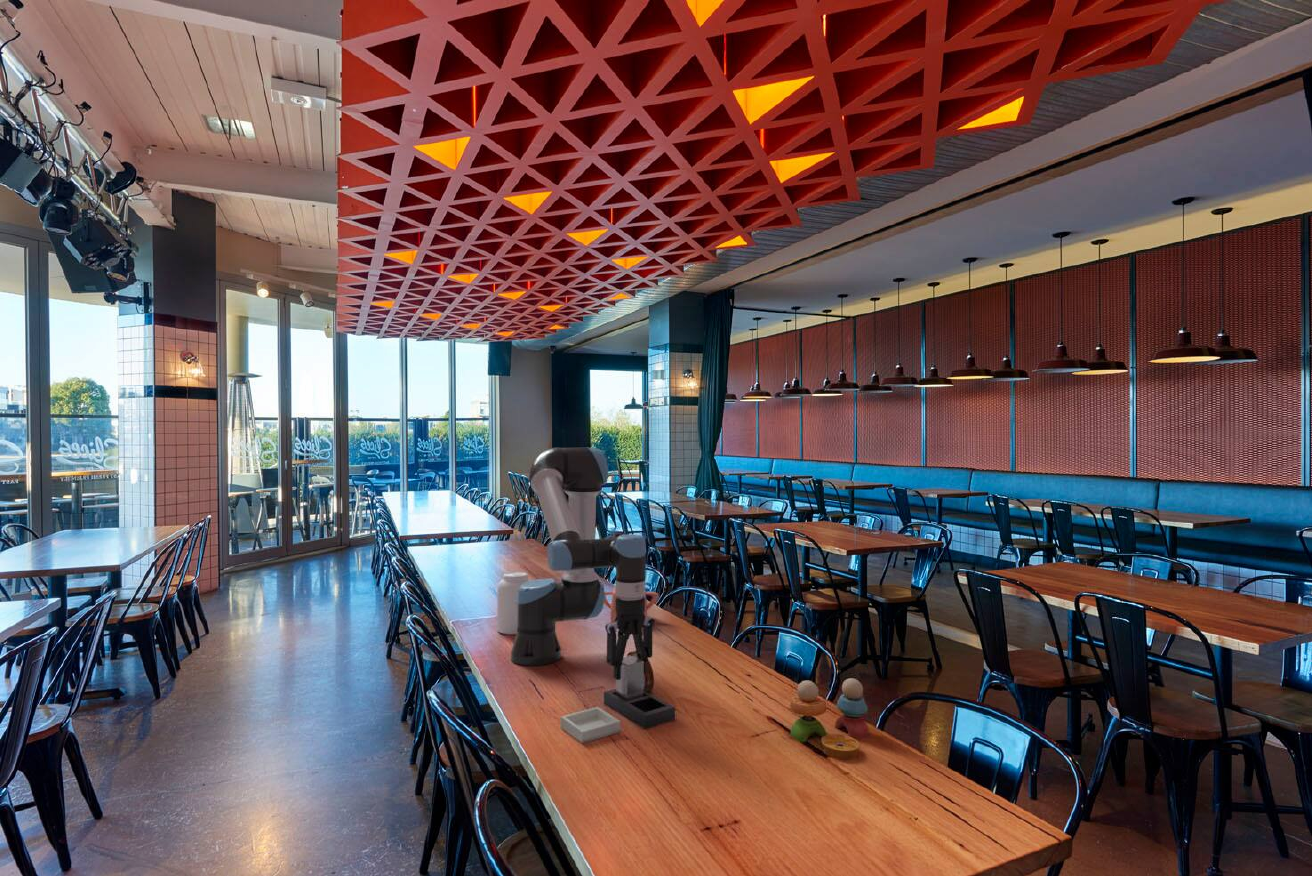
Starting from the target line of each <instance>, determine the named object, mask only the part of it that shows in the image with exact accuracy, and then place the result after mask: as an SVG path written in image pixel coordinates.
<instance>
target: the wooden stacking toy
mask: <svg viewBox="0 0 1312 876" xmlns="http://www.w3.org/2000/svg"><path fill="white" fill-rule="evenodd" d="M796 691H797V692H796V693H797V695H795V696H793V697H792V698H791V701H790V705H789V706H790V707H789V709H790V710H791V712H792V713H795V714H797V715H799V716H800V715H801V716H800V717H799V718H797V719H796V720H795V721H794V722H793V724H792V726H791V728H790V736H791V738H793V739H794V740H795V741H797V742H800V743H806V742H807V741H808V738H809V737H812V736H813V733H815V734H817V735H818V736H820V737H821V740H820V742H821V744H822V745H821V746H822V749H823V752H824V753H825V754H827V756H829V757H832V758H833V759H834V758H835V759H839V760H850V759H854V758H856V757H857V755H858V753H859V749H860V742H859V741H858V740H864V739H867V738H869V737H870V730H869V727H868V725H867V722H866V720H865V719H864V718H863V715H865V714H866V713H867V712H868V706H867V703H866V700H865V698H864V697H863V693H864V687H863V684H862V683H861V682H860V681H859V680H857V678H850V677H849V678H847V679H845V680H844V681H843V683H842V685H841V691H842V693H841V695H840V696H839V698H838V700H837V702H836V707H837V709H838V711H839V712H841V713H842V714H841V715H840V716H839V717H838V718H837V719H836V721H835V724H834V728H835V729H842V728H843V729H844V728H846V730H847V733H848V735H845V734H841V733H830V734H827V732H826V731H827V730H826V729H825V726H824V725H823V723H822V722H820V721H819V719H817V718H816V716H821V715H824V714H825V713H826V712H827V705H826V701H825V700H824V699H823V698H822V696H819V687H818V686H817V685H816V684H815V683H814V682H813V681H812V680H802V681H801V682H800V683H799V684H798V685H797V689H796Z"/></svg>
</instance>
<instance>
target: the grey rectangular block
mask: <svg viewBox="0 0 1312 876" xmlns="http://www.w3.org/2000/svg"><path fill="white" fill-rule="evenodd" d="M622 666H624V667H625V668H624V693H620V692H618V691H616V696H618V697H620V698H621V699H623V700H625V701H629V700H633V699H636V698H640V697H643V676H644V661H643V660H640V659H638V658H636V657H634V656H629V657H627V656H624V657H623V662H622Z"/></svg>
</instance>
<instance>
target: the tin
mask: <svg viewBox="0 0 1312 876" xmlns="http://www.w3.org/2000/svg"><path fill="white" fill-rule="evenodd" d="M629 656H634V657H636V658H638V657H637V653H636V650H634V651H629V652H628V653H627V655H626V657H629ZM654 686H655V675H654V671H653V666H652V664H651V661H650V660H649V659H648V662H646V666H645V673H644V676H643V690H645V691H646V692H648V691H653V689H654Z"/></svg>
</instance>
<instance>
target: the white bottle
mask: <svg viewBox="0 0 1312 876" xmlns="http://www.w3.org/2000/svg"><path fill="white" fill-rule="evenodd" d="M529 581H532V580H531V579H530V578H529V575H528V573H527V572H524V571H509V572H506V573H504V574H503V576H502V579H501V580H500V582H498V584H497V588H496V589H497V591H496V592H497V595H496V596H497V601H496V603H497V607H496V610H497V611H496V631H498V633H500V634H503V635H510V636H511V635H517V595H518V589H519V587H520V586H521V585H522V584H524V583H526V582H529Z"/></svg>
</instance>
